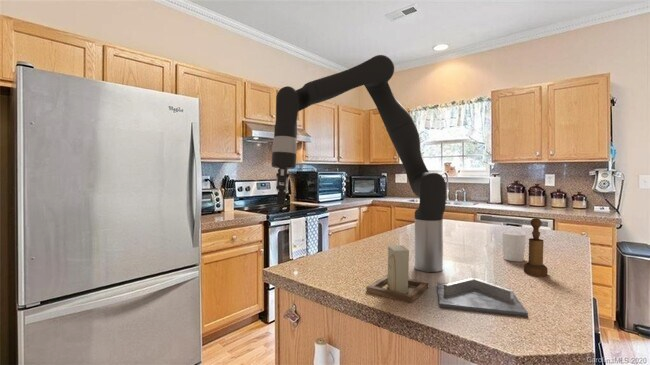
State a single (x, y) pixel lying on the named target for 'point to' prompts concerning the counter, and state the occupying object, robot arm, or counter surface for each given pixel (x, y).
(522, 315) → the grey corner stand
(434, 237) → the robot arm
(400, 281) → the skincare box
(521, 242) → the white cup
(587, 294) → the counter surface
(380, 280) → the square wooden frame
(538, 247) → the mortar and pestle
